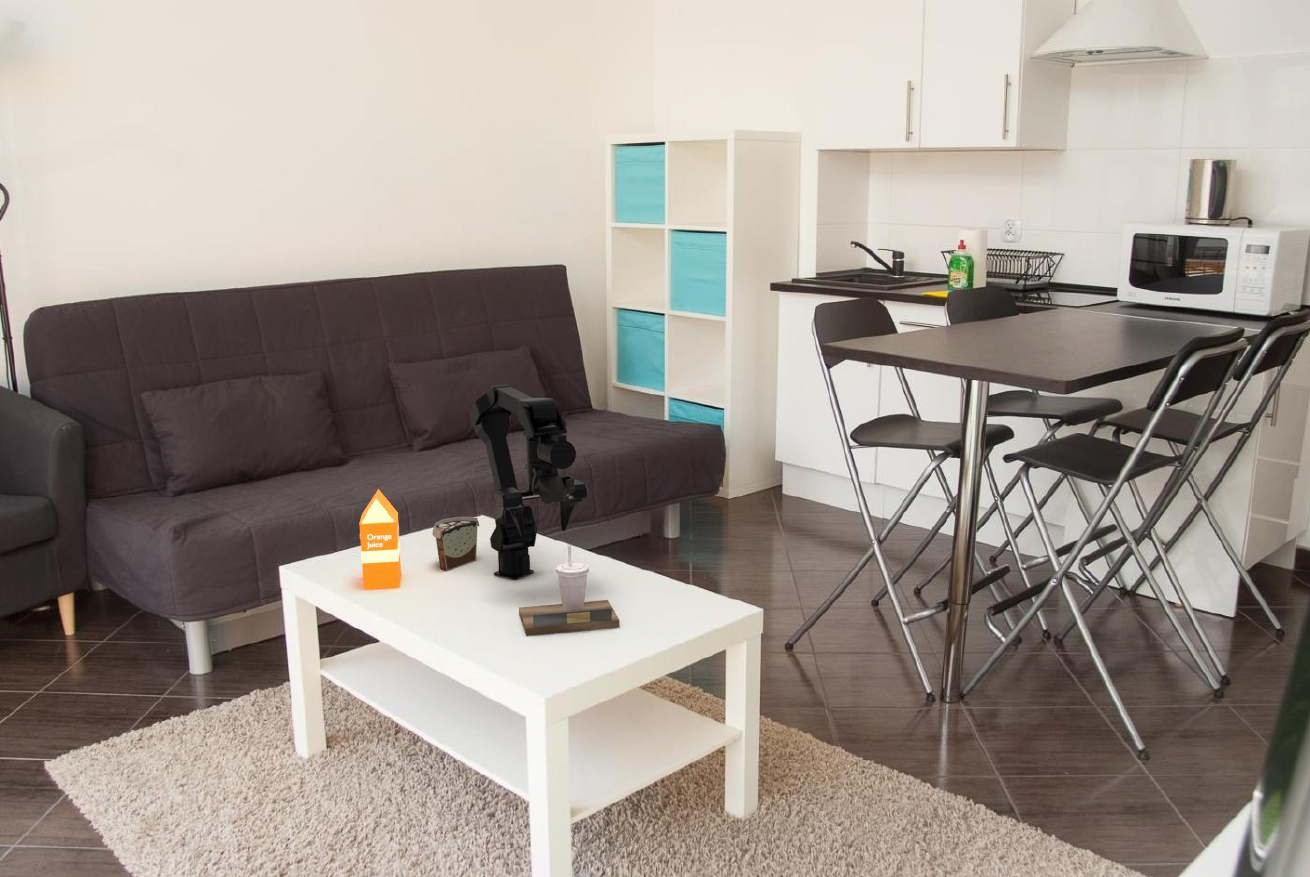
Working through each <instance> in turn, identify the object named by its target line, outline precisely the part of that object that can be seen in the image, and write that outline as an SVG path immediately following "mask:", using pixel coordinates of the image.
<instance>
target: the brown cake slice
mask: <svg viewBox="0 0 1310 877" xmlns="http://www.w3.org/2000/svg"><path fill="white" fill-rule="evenodd" d="M478 527H480V523H479V520H478V517H474V516H456V517H449V518H444V519H441V520H438V521H436V522H435V523H434V526H433V527H432V528H433V529H432V533H431V534H432V536H433V537H434V538H435V542H436V548H437V557H438V562H439V568H440V570H441V571H443V572H450V571H453V570H455V569H458V568H461V567H464V566H466V565H468V564H472V563H474V562H477V547H478V545H477V544H478Z"/></svg>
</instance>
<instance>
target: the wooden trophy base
mask: <svg viewBox="0 0 1310 877" xmlns="http://www.w3.org/2000/svg"><path fill="white" fill-rule="evenodd" d="M518 615H519V619H520V621H521V625H522V627H523V630H524V633H525V636H526V637H529V636H542V635H543V636H544V635H551V634H552V635H553V634H562V633H573V632H583V631H595V630H605V629H606V630H607V629H618V627H619V628H620V618H619V617H618V615H617V613H616V610H614V608H613V606H612V605H611V603H610V601H609V599H603V600H593V601H592V600H590V601H584V609H578V610H567V611H563V604H562V603H556V604H547V605H545V604H544V605H533V606H531V605H530V606H522V607H518Z"/></svg>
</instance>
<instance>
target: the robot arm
mask: <svg viewBox="0 0 1310 877" xmlns="http://www.w3.org/2000/svg"><path fill="white" fill-rule="evenodd" d="M560 410H561V409H560V407H559V405H558V403H557V402H556V401H555V399H553V398H548V397H532V396H530V395H528V394H526V393H524V392H522V391H519V390H518V389H516V388H514V386H512V385H510V384H503V385H492V386H491V387H489V388H488V389H487V391H486V393H485V394H483V395H482V396H481V397H479V398H477V399H476V400H475V401H474V403H473V405H472V407H471V408H470V410H469V420H470V423H471V425H472V426H473V428H474V429H473V430H474V433H475V435H476V436H477V437H478V438H479V439H480V440H481V441H482V442H483V443H484V445H485V447H486V452H487V457H488V462H489V466H490V470H491V474H492V479H493V483H494V488H495V493H494V503H495V504H497V505H498V507H499V508H498V510H497V513H496V516H495V519H494V521H495V523H494V524H495V528H494V530H493V532H492V534H491V535H490V537H489V541H490V548H491V549H493V550H495V551H496V552H497V558H498V560H497V563H498V570H497V571H495V572H493V576H496V577H501V578H506V579H510V580H514V581H515V580H519V579H521V578H524V577H526V576H528V575H531V574H533V573H534V572H535V570H534V569H531V561H530V560H531V559H530V558H531V556H530V554H529V548H532V547H533V548H534V547H535V545H536V539H537V533H538V526H537V523H536V520H535V519H534V515H533V514H534V512H533V509H532V507H531V506H530V505H526V504H525V503H524V502H523V501H526V500H536V499H541V502H543V503H544V504H546V505H550V504H552V503H557V502H559V510H560V513H559V517H560V528H561V530H562V531H563V532H566V531H567V530H566V529H567V528H568V527H567V526H568V524H569V520H570V518H571V515H572V513H573V510H574V508H575V507H576V505H577V504H579V503H582V501H583V499H585V498H588V497H589V487H588V485H587V484H586V483H585V482H582V481H580V480H579V479H575V478H574V477H573V476H572V475H566V476H564V475H563V476H559V470H566V469H568V468H570V467H571V466H572V465H573V464H574V462H575V461H576V457H577V451H576V449H575V446H574V445H573V444H572V443H571V442H570V441H568V439H567V437H568V436H567V433H568V431H567V428H566V427H567V422H566V421H565V419H564V416H563V414H562V412H561V411H560ZM513 415H515V416H517V417H518V423H519V424H520V425H522V427H523V429H524V430H523V432H522V436H524V437H525V440H526V442H525V445H526V449H525V450H526V463H524V466H525V467H524V469H526V471H527V472H526V473H527V475H526V476H527V482H525V489H527V490H520V491H519V486H518V482H517V479H516V474H515V469H514V465H513V461H512V456H511V453H510V446H509V443H508V435H509V433H510V432H509V431H510V429H511V427H512V426H511V425H512V424H511V419H512V417H513Z"/></svg>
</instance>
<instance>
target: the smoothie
mask: <svg viewBox="0 0 1310 877" xmlns="http://www.w3.org/2000/svg"><path fill="white" fill-rule="evenodd" d="M571 553H572V546H571V544H568V545H567V556H568V557H567V562H565V563H561V564H559V565H556V567H555V568H556V569H555V570H556V572H555V574H556V575H557V577H558V583H559V584H558V585H559V590H560V595H561V602H562V603H561V604H563V611H567V610H578V609H584V602H586V601H585V599H586V589H587V579H588V574H590V573H589V572H590V567H589V565H588V564H586V563H582V562H576V561H575V562H572V554H571Z"/></svg>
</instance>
